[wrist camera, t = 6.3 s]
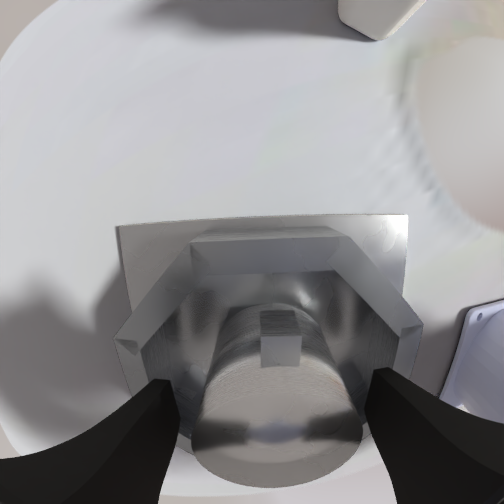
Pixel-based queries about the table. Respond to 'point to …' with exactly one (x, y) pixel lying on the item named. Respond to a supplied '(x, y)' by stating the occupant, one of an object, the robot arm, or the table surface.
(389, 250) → the collar
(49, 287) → the table surface
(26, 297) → the table surface
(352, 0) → the eye dropper bottle
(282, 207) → the table surface
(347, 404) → the silver short rounded cylinder
